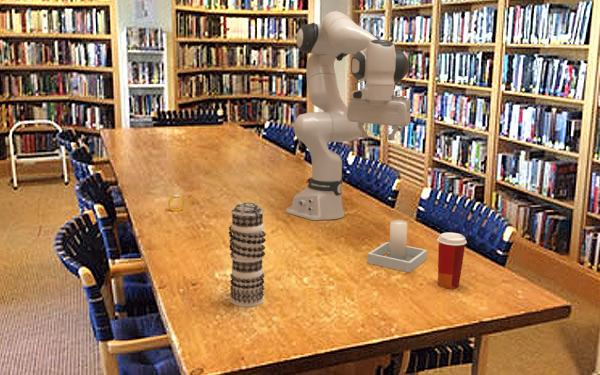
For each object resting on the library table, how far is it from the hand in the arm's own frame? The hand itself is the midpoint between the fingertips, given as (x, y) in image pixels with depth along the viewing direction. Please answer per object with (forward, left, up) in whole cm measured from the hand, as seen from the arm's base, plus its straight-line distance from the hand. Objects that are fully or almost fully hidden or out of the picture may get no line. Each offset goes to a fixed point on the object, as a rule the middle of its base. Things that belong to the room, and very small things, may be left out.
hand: (377, 138), depth 194 cm
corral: (+13, -9, -35) cm, 39 cm away
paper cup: (+32, -18, -35) cm, 51 cm away
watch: (-79, -7, -35) cm, 87 cm away
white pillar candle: (+13, -9, -35) cm, 38 cm away
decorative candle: (-7, -58, -35) cm, 68 cm away
